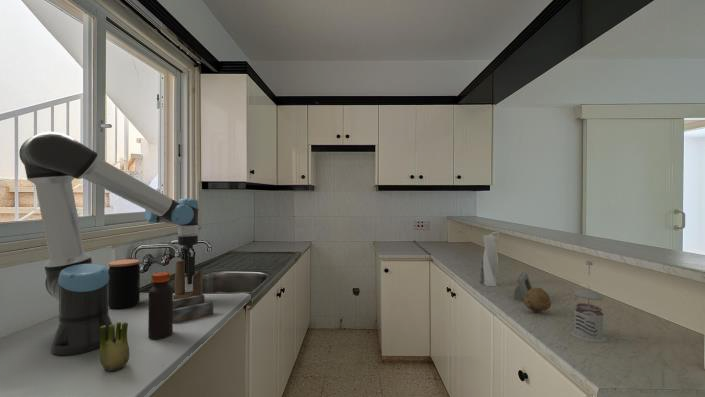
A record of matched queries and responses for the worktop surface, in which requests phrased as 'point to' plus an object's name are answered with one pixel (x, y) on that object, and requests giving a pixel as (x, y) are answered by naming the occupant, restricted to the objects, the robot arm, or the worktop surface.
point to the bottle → (160, 307)
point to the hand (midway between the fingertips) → (187, 289)
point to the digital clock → (522, 286)
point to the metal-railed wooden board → (191, 308)
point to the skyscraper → (489, 261)
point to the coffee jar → (123, 283)
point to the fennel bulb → (114, 347)
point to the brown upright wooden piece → (181, 281)
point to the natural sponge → (537, 300)
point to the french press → (588, 316)
